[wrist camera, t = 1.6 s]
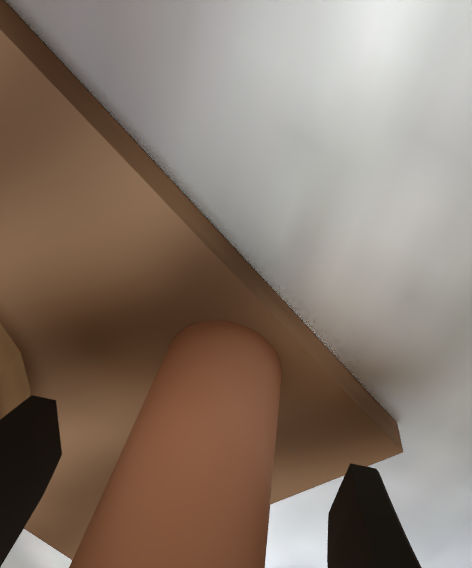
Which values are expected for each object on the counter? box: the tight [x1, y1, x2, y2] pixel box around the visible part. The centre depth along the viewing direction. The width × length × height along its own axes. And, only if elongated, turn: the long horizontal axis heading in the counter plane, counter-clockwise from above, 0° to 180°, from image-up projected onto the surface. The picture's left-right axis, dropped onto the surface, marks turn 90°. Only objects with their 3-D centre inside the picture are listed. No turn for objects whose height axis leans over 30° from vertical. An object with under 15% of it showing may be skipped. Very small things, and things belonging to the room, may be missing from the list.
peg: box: [69, 320, 282, 568], centre depth 10 cm, size 4×4×7 cm
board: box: [0, 0, 403, 560], centre depth 16 cm, size 19×17×1 cm
